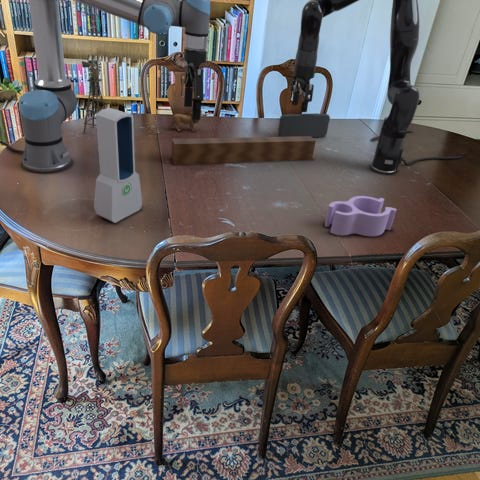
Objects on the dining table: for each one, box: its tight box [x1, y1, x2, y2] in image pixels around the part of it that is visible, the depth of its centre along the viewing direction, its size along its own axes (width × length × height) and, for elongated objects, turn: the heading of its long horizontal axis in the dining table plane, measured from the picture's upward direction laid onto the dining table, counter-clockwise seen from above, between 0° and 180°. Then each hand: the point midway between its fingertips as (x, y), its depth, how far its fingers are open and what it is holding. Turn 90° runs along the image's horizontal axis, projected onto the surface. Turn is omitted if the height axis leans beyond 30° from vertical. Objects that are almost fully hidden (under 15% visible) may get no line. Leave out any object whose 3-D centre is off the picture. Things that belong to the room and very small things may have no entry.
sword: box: [371, 131, 411, 142], centre depth 217 cm, size 31×3×1 cm, turn 126°
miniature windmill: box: [81, 53, 107, 133], centre depth 181 cm, size 9×8×30 cm
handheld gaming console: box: [277, 113, 331, 138], centre depth 203 cm, size 23×3×10 cm, turn 108°
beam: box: [171, 136, 317, 166], centre depth 176 cm, size 55×5×8 cm, turn 107°
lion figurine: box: [167, 109, 203, 132], centre depth 197 cm, size 15×5×9 cm, turn 110°
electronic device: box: [93, 107, 143, 224], centre depth 129 cm, size 12×8×30 cm, turn 148°
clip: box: [324, 195, 398, 237], centre depth 141 cm, size 20×12×7 cm, turn 109°
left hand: (191, 112), depth 163 cm, fingers open, 13 cm apart
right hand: (299, 108), depth 174 cm, fingers open, 8 cm apart
